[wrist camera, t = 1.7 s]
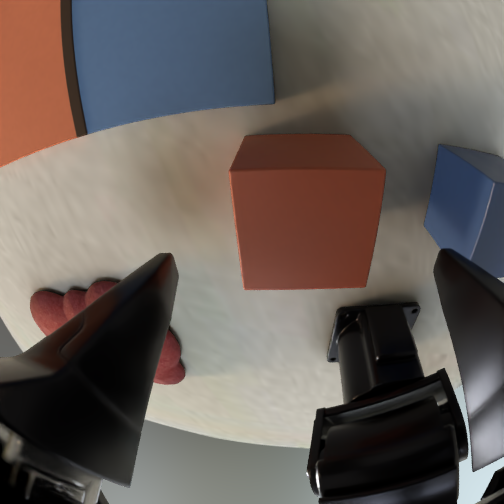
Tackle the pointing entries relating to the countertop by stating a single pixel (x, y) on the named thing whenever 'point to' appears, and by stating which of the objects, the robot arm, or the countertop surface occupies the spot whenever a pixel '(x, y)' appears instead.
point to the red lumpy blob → (74, 301)
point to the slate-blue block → (469, 206)
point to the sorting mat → (124, 64)
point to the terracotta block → (305, 211)
